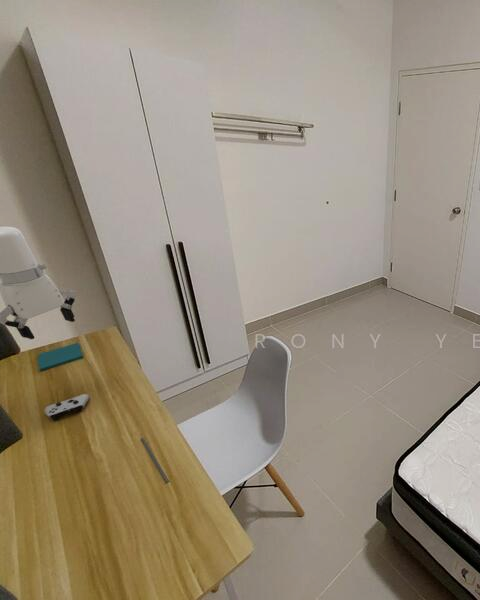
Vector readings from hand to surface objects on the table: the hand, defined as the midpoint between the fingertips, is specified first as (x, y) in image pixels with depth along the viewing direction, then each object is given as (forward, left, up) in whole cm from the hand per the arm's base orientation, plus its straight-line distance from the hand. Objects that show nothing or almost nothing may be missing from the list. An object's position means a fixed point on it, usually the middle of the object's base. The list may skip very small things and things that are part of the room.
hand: (51, 328), depth 94 cm
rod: (+25, -37, -24) cm, 51 cm away
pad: (-13, +22, -23) cm, 35 cm away
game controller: (-1, -9, -23) cm, 25 cm away
